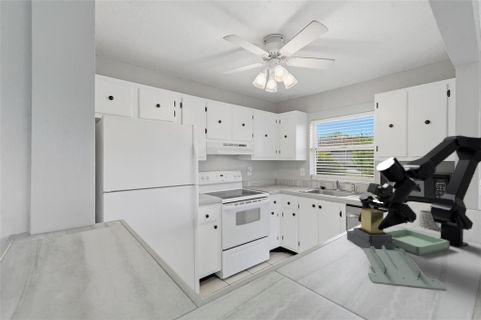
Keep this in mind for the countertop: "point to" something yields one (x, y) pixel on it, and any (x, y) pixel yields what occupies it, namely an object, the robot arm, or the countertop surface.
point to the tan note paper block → (371, 221)
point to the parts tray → (417, 242)
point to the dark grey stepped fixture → (370, 239)
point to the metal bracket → (398, 269)
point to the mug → (427, 220)
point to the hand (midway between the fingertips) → (368, 224)
